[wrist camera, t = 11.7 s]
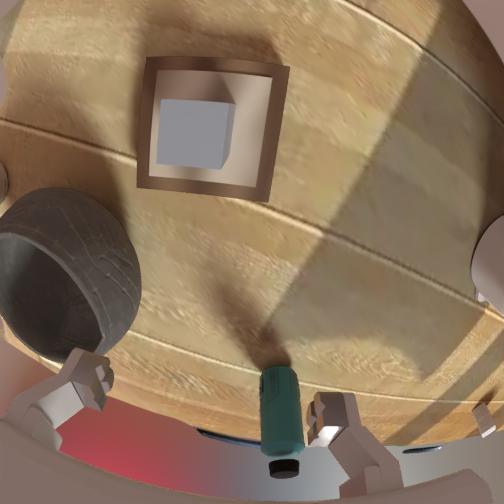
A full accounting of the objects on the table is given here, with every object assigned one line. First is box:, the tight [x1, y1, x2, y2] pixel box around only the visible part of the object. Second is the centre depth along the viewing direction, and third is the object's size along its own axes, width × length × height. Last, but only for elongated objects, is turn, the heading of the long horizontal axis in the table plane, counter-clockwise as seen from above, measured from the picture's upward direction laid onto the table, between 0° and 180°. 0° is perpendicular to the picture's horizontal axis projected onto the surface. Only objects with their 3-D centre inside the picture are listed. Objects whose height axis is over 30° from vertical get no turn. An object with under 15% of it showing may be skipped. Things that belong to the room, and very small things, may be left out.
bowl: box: [0, 188, 142, 364], centre depth 30 cm, size 21×21×15 cm
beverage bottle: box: [259, 366, 305, 479], centre depth 39 cm, size 6×7×20 cm
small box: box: [472, 402, 496, 438], centre depth 59 cm, size 8×6×10 cm
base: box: [137, 56, 290, 203], centre depth 28 cm, size 14×14×4 cm
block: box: [156, 99, 236, 170], centre depth 23 cm, size 5×5×7 cm
